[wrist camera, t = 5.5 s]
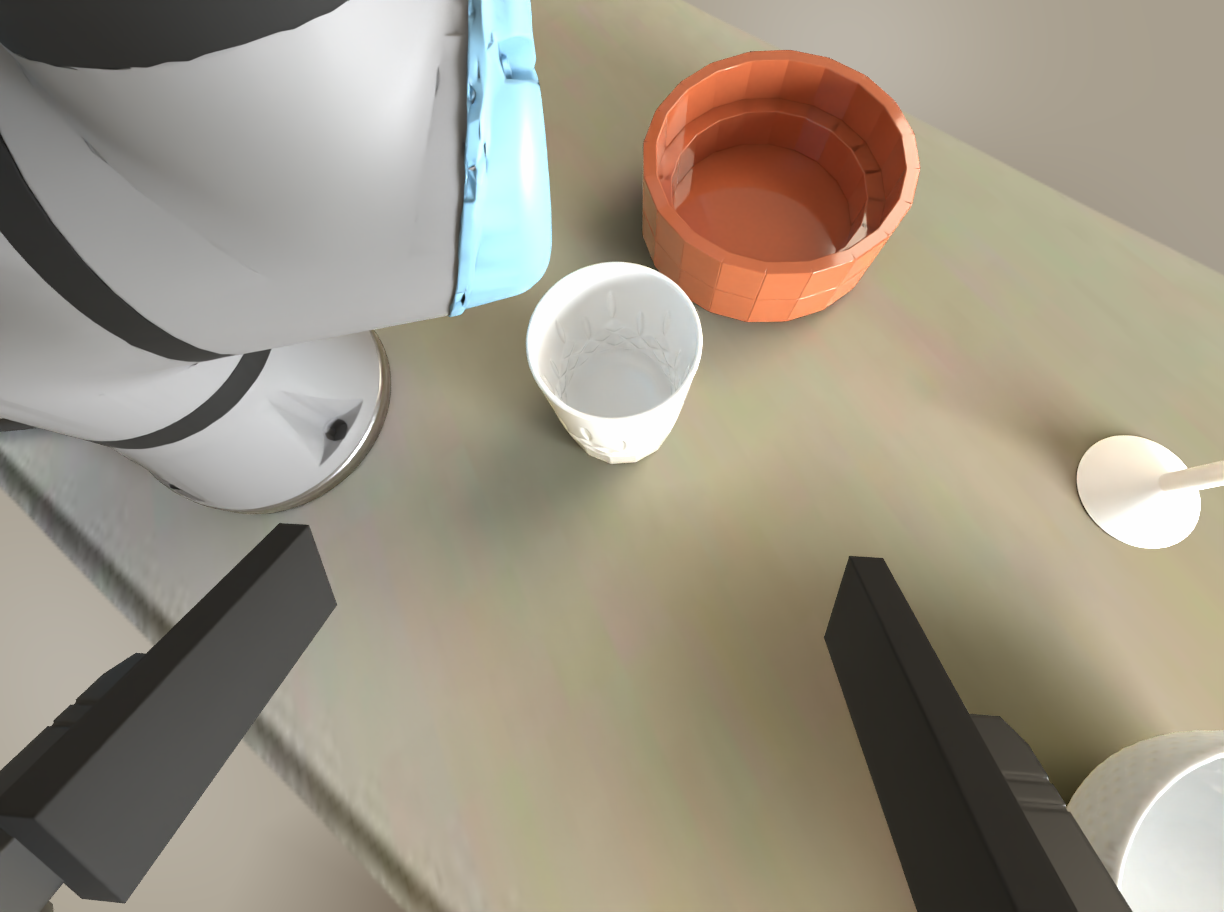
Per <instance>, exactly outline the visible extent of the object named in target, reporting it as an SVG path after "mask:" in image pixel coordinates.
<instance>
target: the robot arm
mask: <svg viewBox="0 0 1224 912" xmlns="http://www.w3.org/2000/svg"><path fill="white" fill-rule="evenodd" d="M535 62H536V54H535V47H534V40H533V33H532V14H531V4H530V0H0V417H1V419H0V432H2V431H12V430H22V429H31V428H42V429H45V430H49V431H53V432H56V433H60V434H64V435H68V436H71V437H76V438H80V439H83V440H87V441H91V442H94V443H98V444H101V445H105V446H108V447H111V448H113V449H114V450H116V451H117V452H119V453H120V454H122V455H123V456H125V457H126V458H128V459H130V460H131V461H133V462H135V463H138V464H139V465H141V466H142V467H144V468H145V469H147V470H149V472H150V473H151V474H152V475H153V476H154V477H155V478H156V479H157V480H159V481H160V482H161V483H162V484H164V485H165V486H167V487H168V488H169V489H171V490H172V491H174V492H175V493H177V494H179V495H181V496H183V497H185V498H187V499H189V500H192V501H193V502H196V503H198V504H201V505H204V506H207V507H211V508H215V509H220V510H225V511H230V512H235V513H242V514H269V513H275V512H281V511H285V510H288V509H292V508H295V507H298V506H301V505H303V504H306V503H308V502H310V501H312V500H314V499H316V498H318V497H320V496H321V495H323V494H325V493H327V492H328V491H330V490H331V489H332V488H334V487H335V486H337V485H338V484H339V483H340V482H342V481H343V480H344V479H345V478H346V477H347V476H348V475H349V474H350V473H351V472H352V471H353V470H354V469H355V468H356V467H357V466H358V465H359V464H360V463H361V461H362V460H363V459H364V458H365V456H366V455H367V454H368V452H369V451H370V449H371V448H372V446H373V444H374V443H375V441H376V439H377V437H378V435H379V433H380V431H381V429H382V426H383V424H384V421H385V418H386V415H387V411H388V407H389V401H390V395H391V373H390V367H389V362H388V358H387V355H386V352H385V349H384V347H383V344H382V343H381V341H380V339H379V337H378V335H377V334H376V332H375V331H374V329H379V328H384V327H390V326H395V325H400V324H406V323H411V322H416V321H422V320H427V319H432V318H438V317H443V316H449V317H452V316H457V315H461V314H462V313H463V312H464V311H465V309H468V308H471V307H475V306H479V305H482V304H486V303H490V302H493V301H497V300H501V299H504V298H508V297H512V296H515V295H519V294H522V293H523V292H525V291H527V290H528V289H530V288H532V286H533V285H534V284H535V283H537V282H538V281H539V280H540V279H541V277H542V276H543V275H544V273H545V271H546V269H547V267H548V263H549V260H550V254H551V245H552V225H551V201H550V185H549V171H548V159H547V148H546V137H545V126H544V117H543V109H542V100H541V91H540V85H539V80H538V76H537V74H536V71H535V69H534V66H535ZM336 606H337V603H336V600H335V598H334V595H333V592H332V589H331V586H330V584H329V581H328V578H327V575H326V572H325V569H324V567H323V564H322V561H321V558H320V555H319V552H318V550H317V547H316V544H315V541H314V538H313V536H312V533H311V530H310V527H309V525H300V524H282V523H279V524H278V525H277V526H276V527H275V528H274V529H273V530H272V531H271V532H270V533H269V534H268V535H267V536H266V537H265V538H264V539H263V540H262V541H261V542H260V543H259V544H258V545H257V546H256V547H255V548H254V549H253V550H252V551H251V552H250V553H248V554H247V555H246V556H245V557H244V558H243V559H242V560H241V561H240V562H239V563H238V564H237V565H236V566H235V567H234V568H233V569H232V570H231V571H230V572H229V573H228V574H227V575H226V576H225V577H224V578H223V579H222V580H221V581H220V582H219V583H218V584H217V585H216V586H215V587H214V588H213V589H212V590H211V591H210V592H209V593H208V594H207V595H206V596H205V597H204V598H203V599H201V600H200V601H199V602H198V603H197V604H196V605H195V606H194V607H193V608H192V609H191V610H190V611H189V612H188V613H187V614H186V615H185V616H184V617H183V618H182V619H181V620H180V621H179V622H178V623H177V624H176V625H175V626H174V627H173V628H172V629H171V630H170V631H169V632H168V633H167V634H166V635H165V636H164V637H163V638H162V639H161V640H160V641H159V642H158V643H157V644H156V645H154V646H153V647H152V648H151V649H150V650H149V651H148V652H147V653H146V654H143V653H135V654H134V655H132V656H130V657H129V658H127V659H126V660H124V661H123V662H121V663H120V664H118V665H116V666H115V667H114V668H112V669H110V670H109V671H107V672H106V673H104V674H103V675H102V676H101V677H100V678H98V679H97V680H96V681H95V682H94V683H93V684H92V685H91V686H90V687H89V688H88V689H87V690H86V691H85V692H84V693H82V694H81V695H80V696H79V697H78V698H77V699H76V703H75V704H74V705H70V706H69V707H68V708H67V709H66V710H64V711H63V712H62V713H61V714H60V715H59V716H58V717H57V718H56V719H55V720H54V723H53V725H52V726H50V727H49V726H47V727H46V728H45V729H44V730H43V731H42V732H41V733H40V734H39V735H38V736H37V737H36V738H35V739H34V740H32V741H31V742H30V743H29V744H28V745H27V746H26V747H25V748H24V749H23V750H22V751H21V752H20V753H19V754H18V755H17V756H16V757H14V758H13V759H12V760H11V761H10V762H9V763H8V764H7V765H6V766H5V767H4V768H3V769H2V770H1V771H0V912H53V904H52V903H51V902H49V900H50V899H51V897H52V896H53V895H54V894H55V892H56V891H57V890H58V889H59V888H60V886H61V885H62V884H63V883H65V884H66V885H67V886H68V887H69V888H70V889H71V890H72V891H74V892H75V893H76V894H77V895H78V896H79V897H80V898H82V899H89V900H98V901H108V902H117V903H126V901H127V900H128V898H129V897H130V896H131V894H132V893H133V891H134V890H135V888H136V887H137V886H138V884H139V883H140V882H141V880H142V879H143V877H144V876H145V875H146V873H147V871H148V870H149V869H150V867H151V866H152V865H153V863H154V861H155V860H156V859H157V857H158V856H159V855H160V853H161V852H162V850H163V849H164V848H165V846H166V845H167V844H168V842H169V841H170V839H171V838H172V836H173V835H174V834H175V832H176V831H177V829H178V828H179V827H180V825H181V824H182V822H183V821H184V820H185V818H186V817H187V815H188V814H189V813H190V811H191V810H192V808H193V807H194V806H195V804H196V803H197V801H198V800H199V798H200V797H201V796H202V794H203V793H204V791H205V790H206V788H207V787H208V786H209V784H210V783H211V782H212V780H213V779H214V777H215V776H216V775H217V773H218V772H219V770H220V769H221V767H222V766H223V765H224V763H225V762H226V760H227V759H228V758H229V756H230V755H231V753H232V752H233V751H234V749H235V748H236V746H237V745H238V743H239V742H240V741H241V739H242V738H243V737H244V735H245V734H246V732H247V731H248V729H249V728H250V727H251V725H252V724H253V722H254V721H255V720H256V718H257V717H258V715H259V714H260V713H261V711H262V710H263V708H264V707H265V706H266V704H267V703H268V701H269V700H270V699H271V697H272V696H273V694H274V693H275V691H276V690H277V689H278V687H279V686H280V684H281V683H282V682H283V680H284V679H285V677H286V676H287V675H288V673H289V672H290V670H291V669H292V668H293V666H294V665H295V663H296V662H297V661H298V659H299V658H300V656H301V655H302V653H303V652H304V651H305V649H306V648H307V646H308V645H309V644H310V642H311V641H312V639H313V638H314V637H315V635H316V634H317V632H318V631H319V630H320V628H321V627H322V625H323V624H324V622H325V621H326V620H327V618H328V617H329V615H330V614H331V613H332V611H333V610H334V608H335V607H336ZM824 639H825V642H826V645H827V648H828V651H829V654H830V657H831V660H832V662H833V665H834V668H835V671H836V674H837V677H838V680H839V683H840V686H841V689H842V692H843V695H844V698H845V701H846V704H847V707H848V709H849V712H850V715H851V718H852V721H853V724H854V727H855V730H856V733H857V736H858V739H859V742H860V745H861V748H862V751H863V754H864V756H865V759H866V762H867V765H868V768H869V771H870V774H871V777H872V780H873V783H874V786H875V789H876V792H877V795H878V798H879V801H880V804H881V806H882V809H883V812H884V815H885V818H886V821H887V824H888V827H889V830H890V833H891V836H892V839H893V842H894V845H895V848H896V851H897V853H898V856H899V859H900V862H901V865H902V868H903V871H904V874H905V877H906V880H907V883H908V886H909V889H910V892H911V895H912V898H913V901H914V903H915V906H916V909H917V912H1133V911H1132V910H1131V908H1130V906H1129V905H1128V903H1127V902H1126V900H1125V898H1124V897H1123V895H1122V894H1121V892H1120V890H1119V889H1118V887H1117V886H1116V884H1115V882H1114V881H1113V879H1112V878H1111V876H1110V874H1109V873H1108V871H1107V870H1106V868H1105V866H1104V865H1103V863H1102V862H1101V860H1100V858H1099V857H1098V855H1097V854H1096V852H1095V850H1094V849H1093V847H1092V846H1091V844H1090V842H1089V841H1088V839H1087V838H1086V836H1085V834H1084V833H1083V831H1082V830H1081V828H1080V826H1079V825H1078V823H1077V822H1076V820H1075V818H1074V817H1073V815H1072V814H1071V812H1068V811H1067V809H1066V804H1065V802H1064V801H1063V799H1062V797H1061V796H1060V794H1059V793H1058V791H1057V789H1056V788H1055V786H1054V785H1053V784H1051V783H1050V782H1049V777H1048V775H1047V773H1046V772H1045V770H1044V769H1043V767H1042V765H1041V764H1040V762H1039V761H1038V759H1037V757H1036V756H1035V754H1034V753H1033V751H1032V749H1031V748H1030V746H1029V745H1028V744H1027V743H1026V742H1025V741H1024V740H1023V739H1022V738H1021V737H1020V736H1019V735H1018V734H1017V733H1016V732H1015V731H1014V730H1013V729H1012V728H1011V727H1010V726H1009V725H1008V724H1007V723H1006V722H1005V721H1004V720H1003V719H1002V718H1001V717H1000V716H990V715H977V714H969V713H968V711H967V709H966V707H965V706H964V704H963V702H962V700H961V698H960V697H959V695H958V693H957V691H956V689H955V687H954V686H953V684H952V682H951V680H950V678H949V677H948V675H947V673H946V671H945V669H944V668H943V666H942V664H941V662H940V660H939V658H938V657H937V655H936V653H935V651H934V649H933V648H932V646H931V644H930V642H929V640H928V639H927V637H926V635H925V633H924V631H923V630H922V628H921V626H920V624H919V622H918V620H917V619H916V617H915V615H914V613H913V611H912V610H911V608H910V606H909V604H908V602H907V601H906V599H905V597H904V595H903V593H902V591H901V590H900V588H899V586H898V584H897V582H896V581H895V579H894V577H893V575H892V573H891V572H890V570H889V568H888V566H887V564H886V562H885V561H884V559H883V558H873V557H856V556H849V559H848V562H847V565H846V568H845V572H844V575H843V578H842V581H841V584H840V588H839V591H838V594H837V597H836V601H835V604H834V607H833V610H832V613H831V617H830V620H829V623H828V626H827V630H826V633H825V636H824Z"/></svg>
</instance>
